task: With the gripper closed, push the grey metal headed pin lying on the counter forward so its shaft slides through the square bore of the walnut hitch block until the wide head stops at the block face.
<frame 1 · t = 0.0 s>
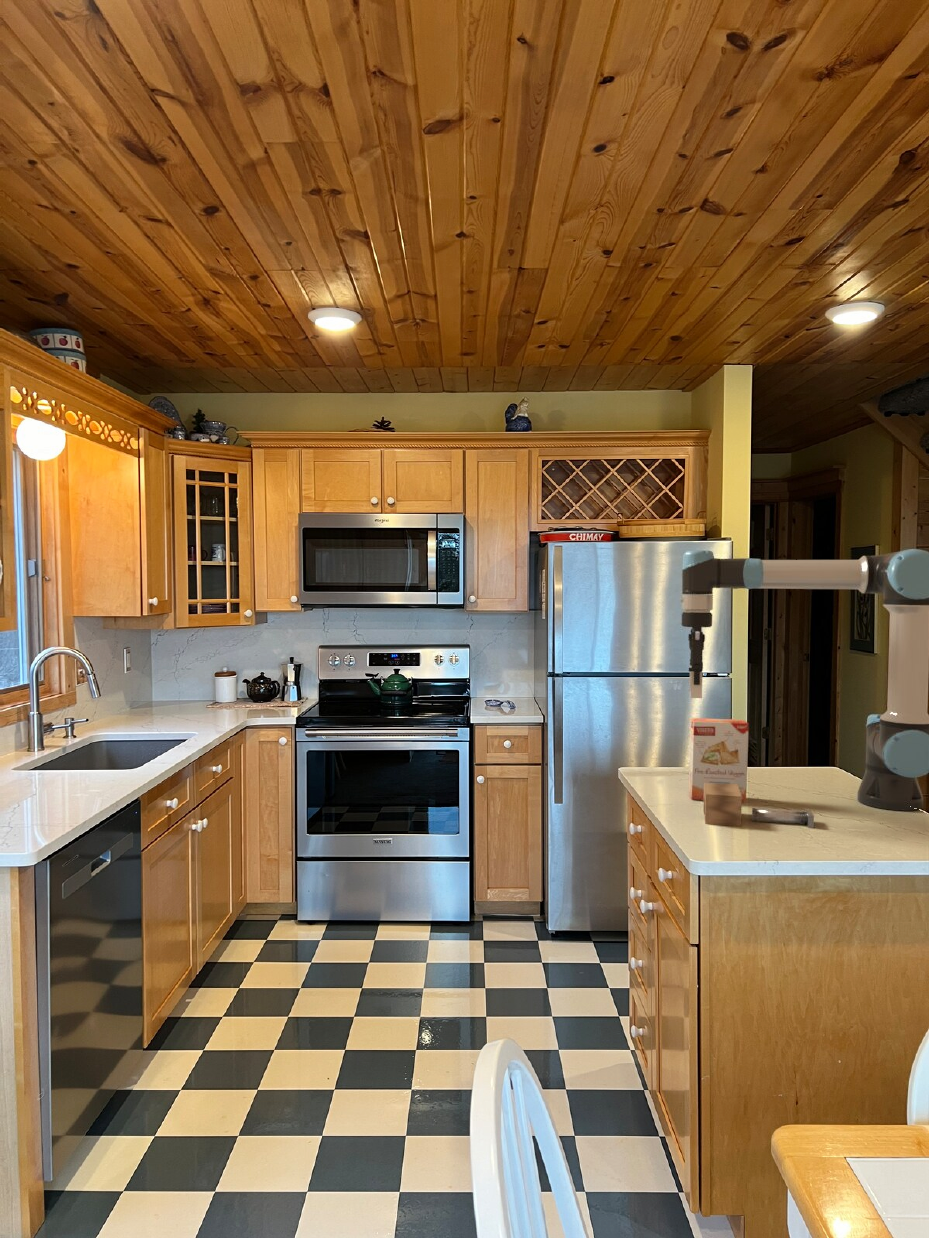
hand: (695, 694, 214), 28 cm above the worktop, tool pointing down, fingers open, 13 cm apart
hitch block: (721, 818, 201), on the worktop
cracker box: (717, 799, 220), on the worktop
pin: (778, 822, 198), on the worktop
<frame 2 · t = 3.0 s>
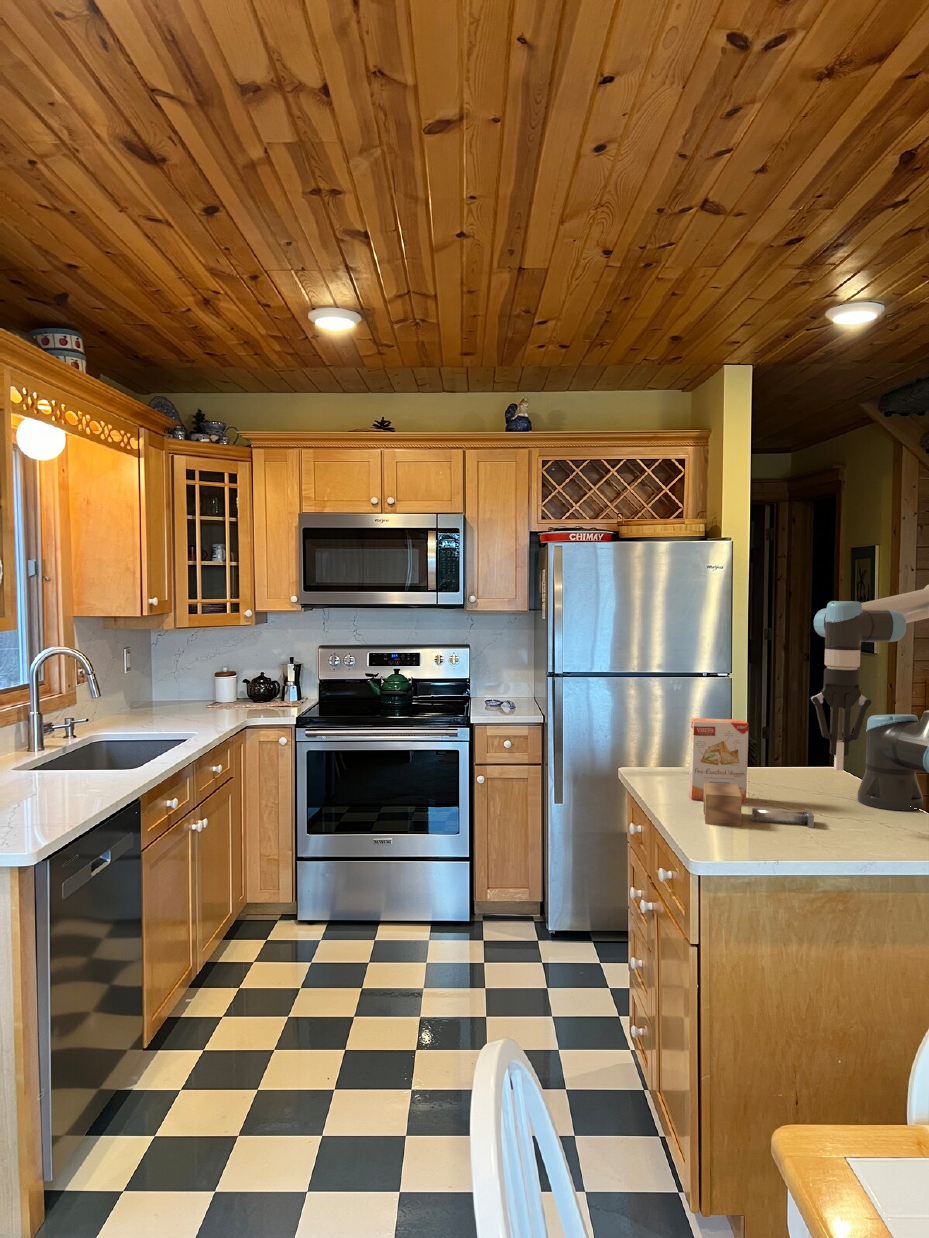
hand: (838, 768, 194), 13 cm above the worktop, tool pointing down, fingers closed
nothing on the worktop moved.
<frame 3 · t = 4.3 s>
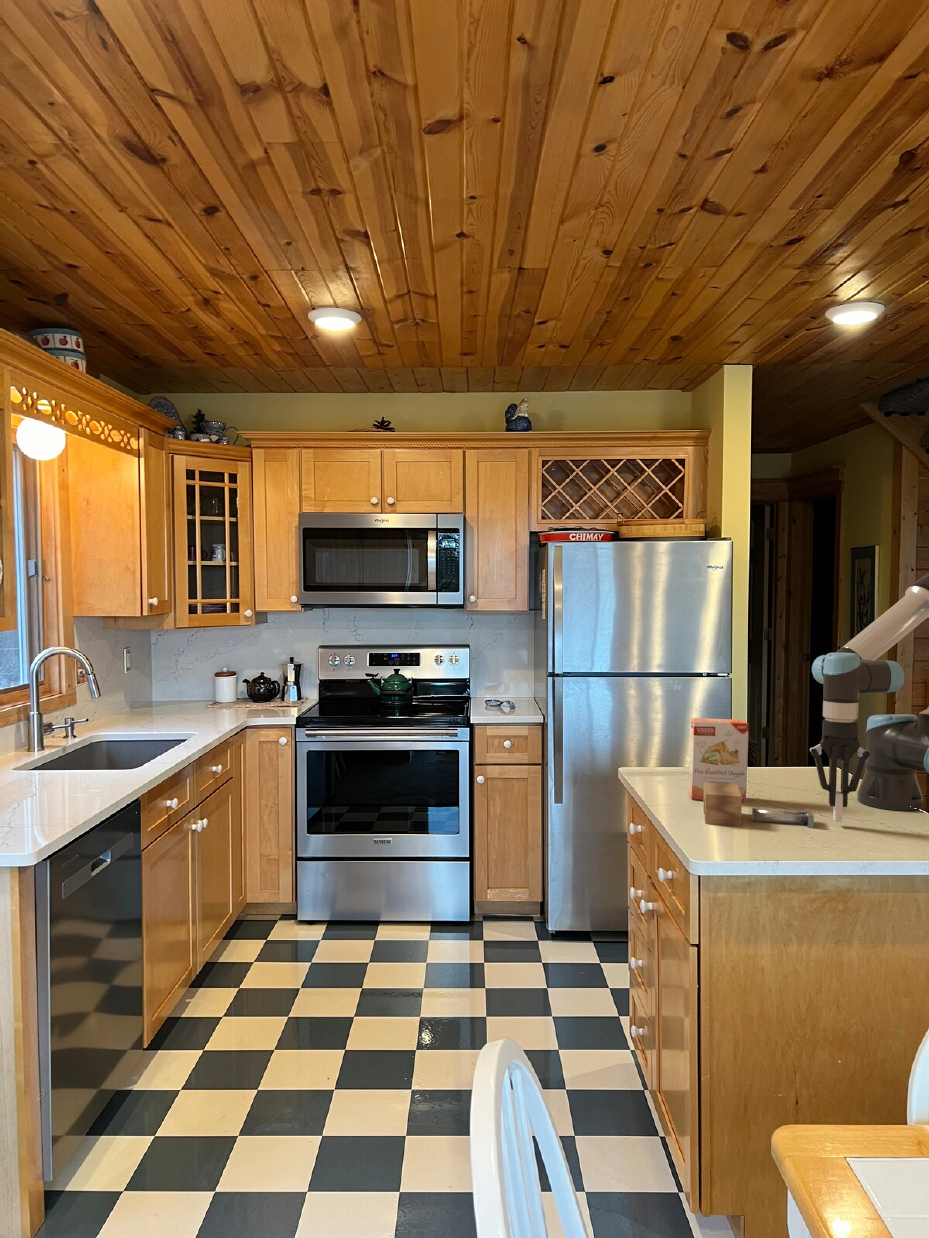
hand: (837, 820, 195), 1 cm above the worktop, tool pointing down, fingers closed
nothing on the worktop moved.
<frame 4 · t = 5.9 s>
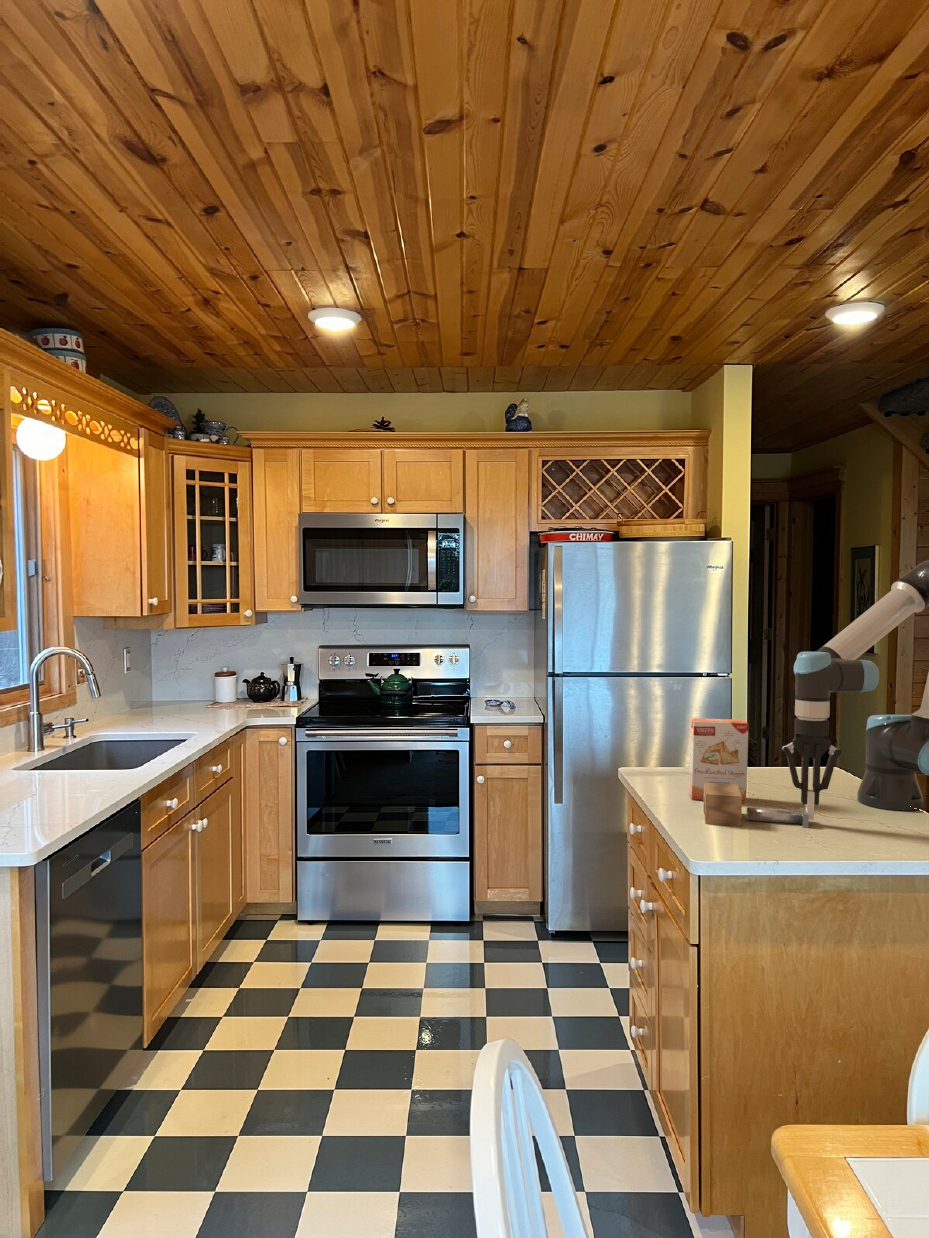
hand: (809, 817, 196), 2 cm above the worktop, tool pointing down, fingers closed
pin: (773, 821, 198), on the worktop, touching gripper
everything else where it was.
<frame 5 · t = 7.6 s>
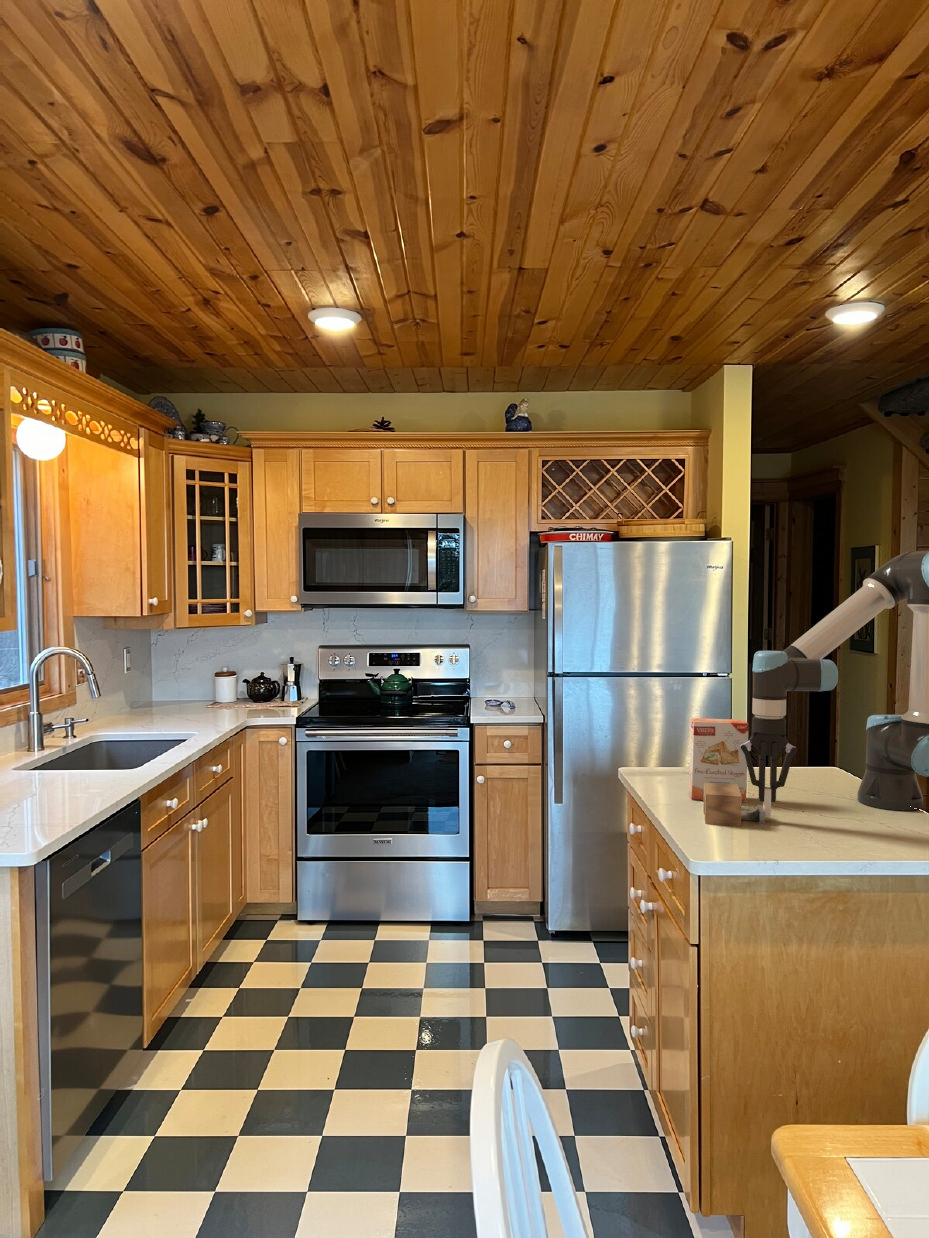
hand: (766, 815, 199), 2 cm above the worktop, tool pointing down, fingers closed
pin: (731, 818, 201), on the worktop, touching gripper
everything else where it was.
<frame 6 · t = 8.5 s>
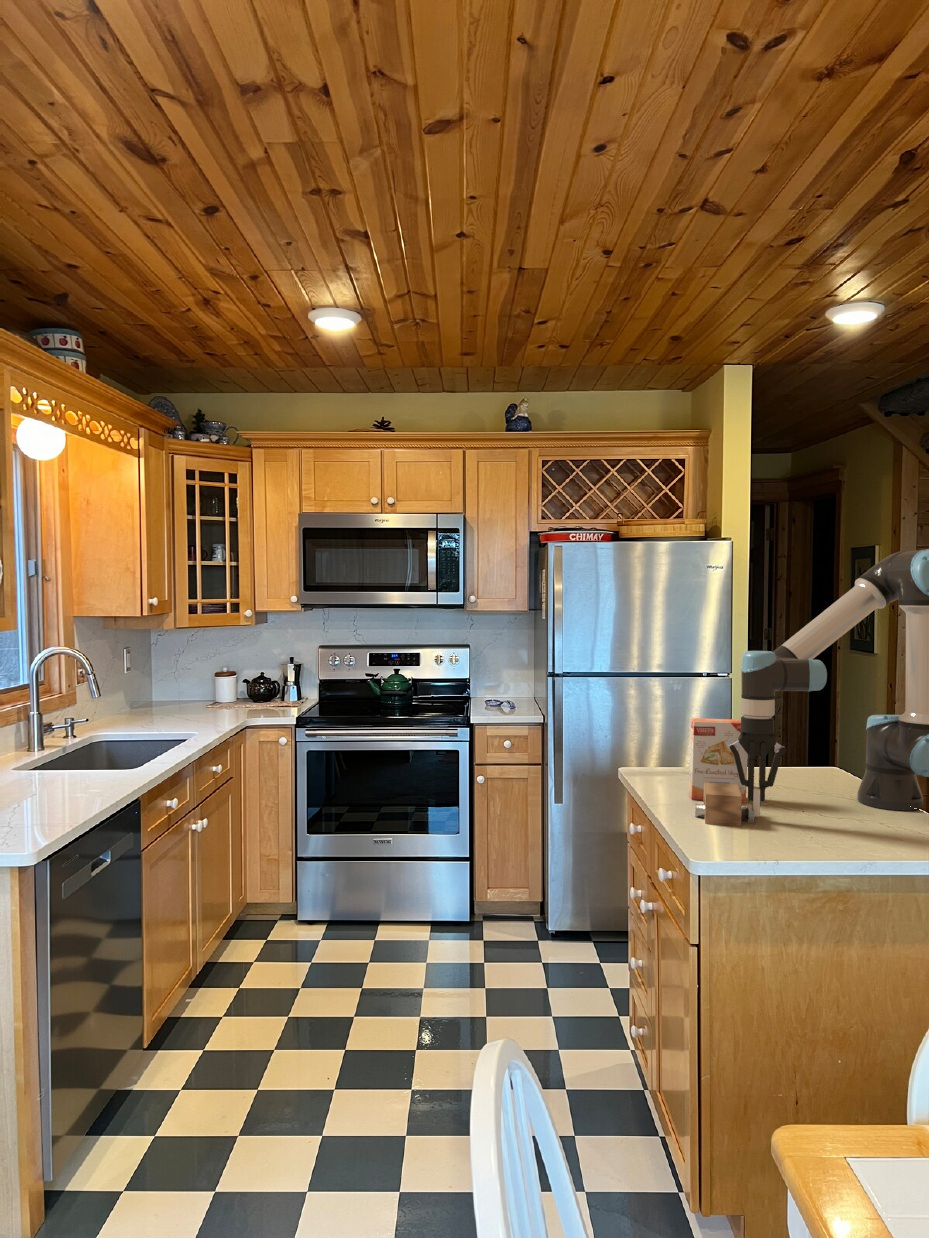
hand: (755, 814, 199), 1 cm above the worktop, tool pointing down, fingers closed
pin: (721, 817, 201), on the worktop, touching gripper
everything else where it was.
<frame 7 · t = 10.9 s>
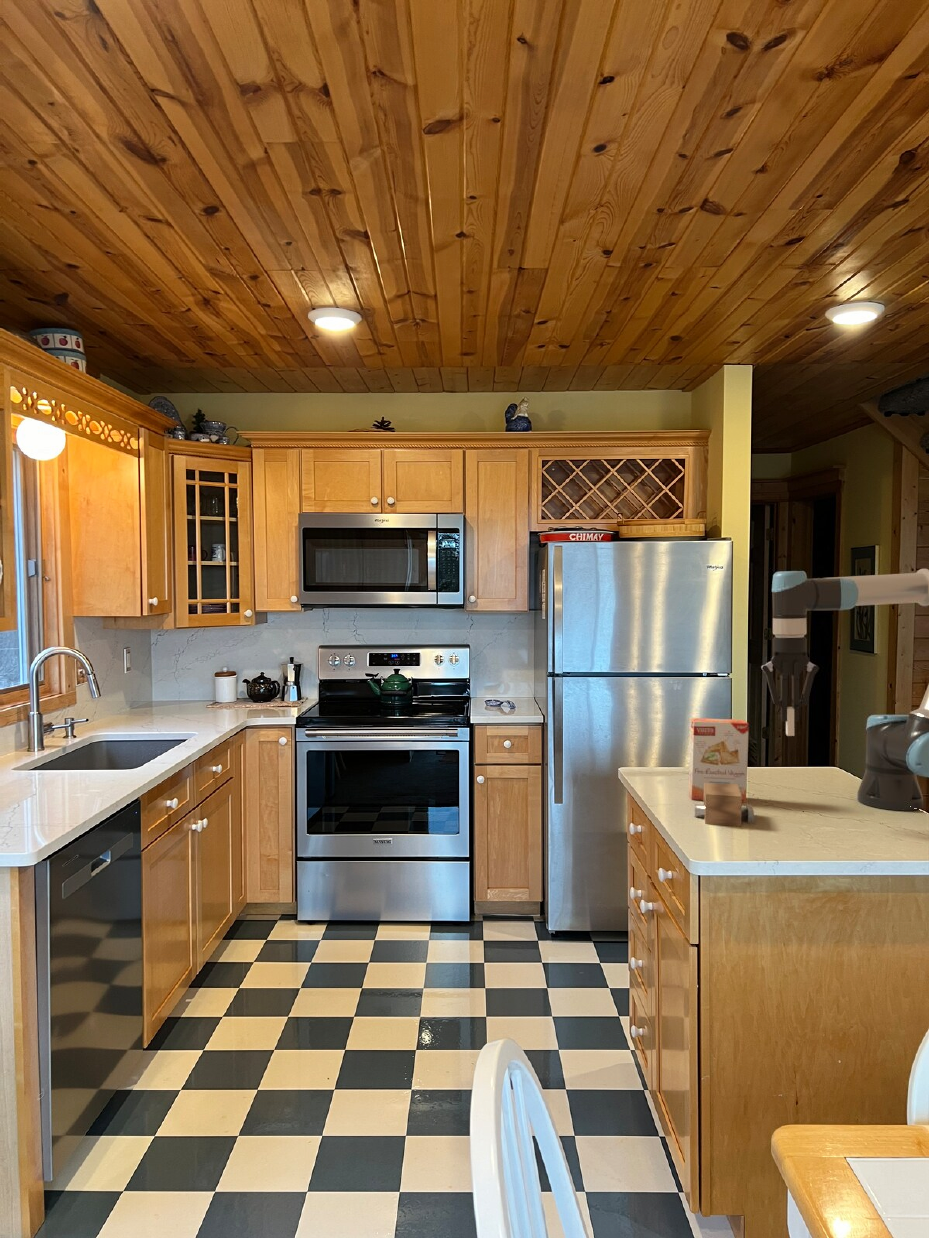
hand: (790, 734, 200), 20 cm above the worktop, tool pointing down, fingers closed
pin: (720, 818, 202), on the worktop
everything else where it was.
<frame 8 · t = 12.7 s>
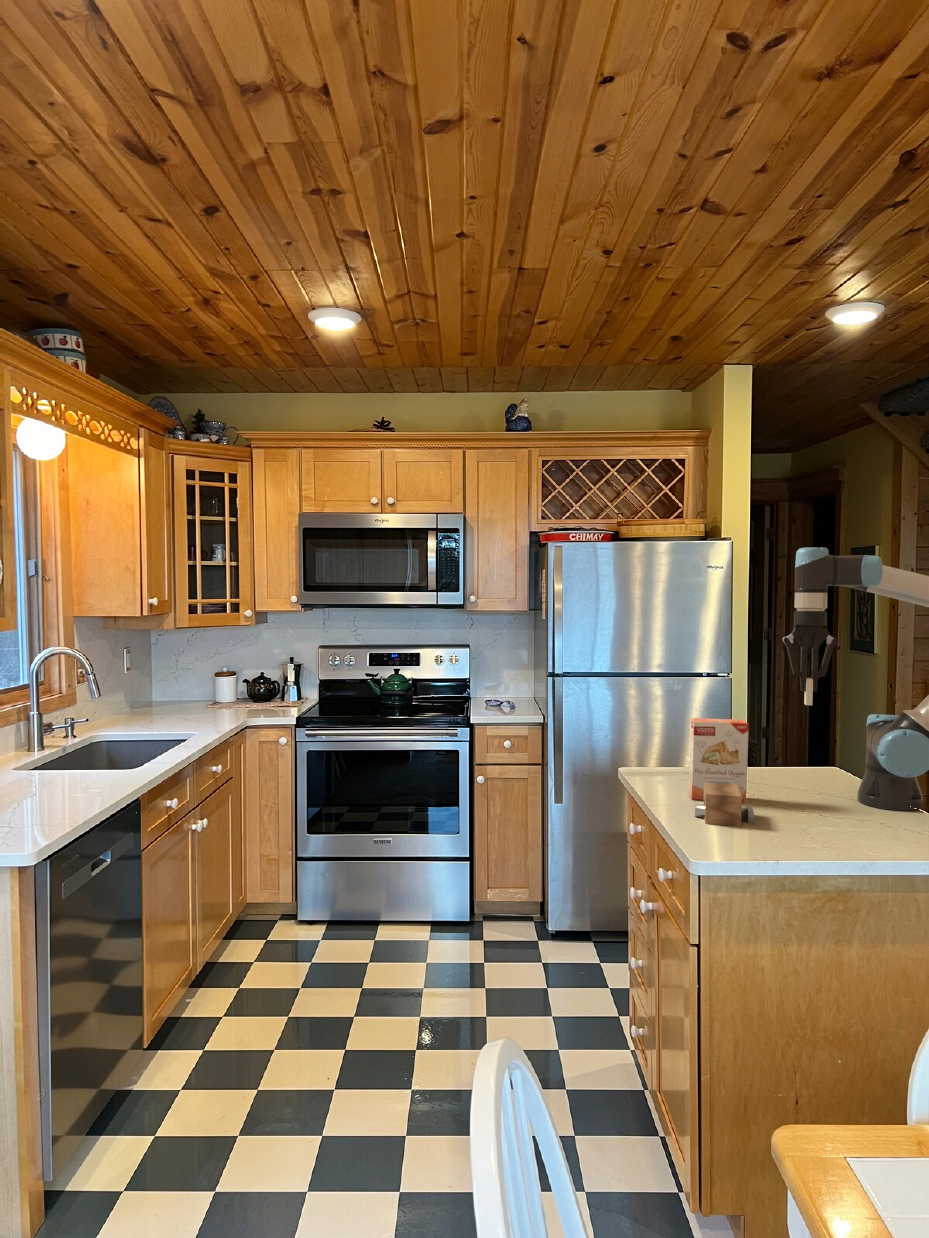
hand: (808, 704, 209), 26 cm above the worktop, tool pointing down, fingers closed
nothing on the worktop moved.
at the end: pin 1.3 cm from the target spot on the hitch block, point 0.0 cm above the hitch block's base; pin moved 13.2 cm from its start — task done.
